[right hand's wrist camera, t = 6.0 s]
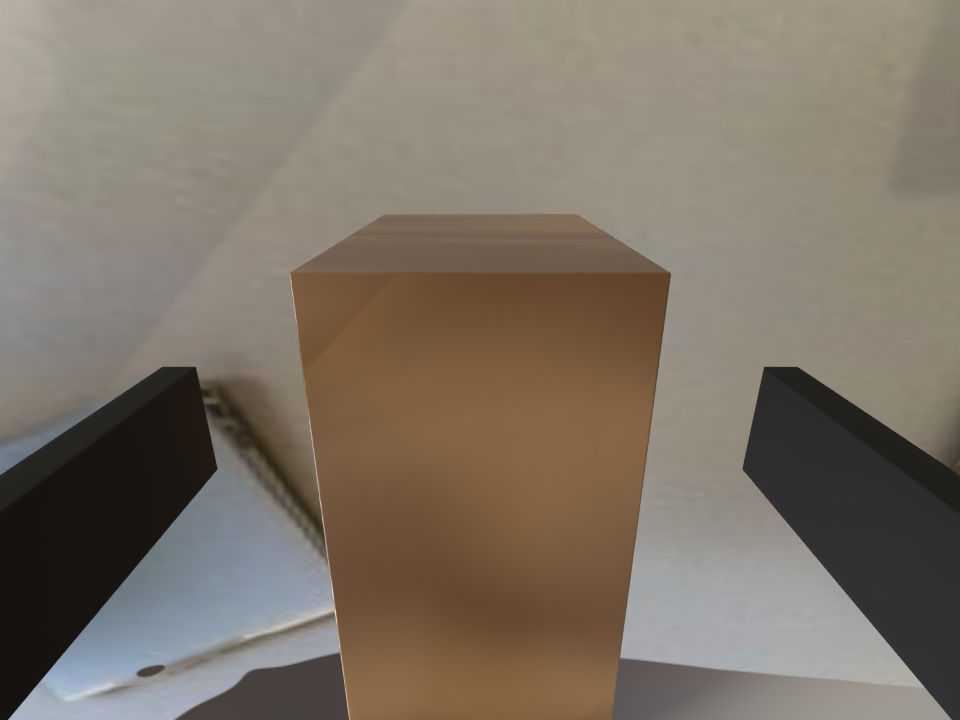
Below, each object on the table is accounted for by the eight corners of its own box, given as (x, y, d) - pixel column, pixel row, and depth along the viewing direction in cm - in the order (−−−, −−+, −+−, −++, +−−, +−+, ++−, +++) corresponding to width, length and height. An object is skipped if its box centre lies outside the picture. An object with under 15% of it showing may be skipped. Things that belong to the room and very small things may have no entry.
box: (383, 214, 23) (288, 273, 12) (577, 214, 23) (671, 272, 12) (414, 688, 34) (381, 960, 22) (546, 689, 34) (580, 961, 22)
